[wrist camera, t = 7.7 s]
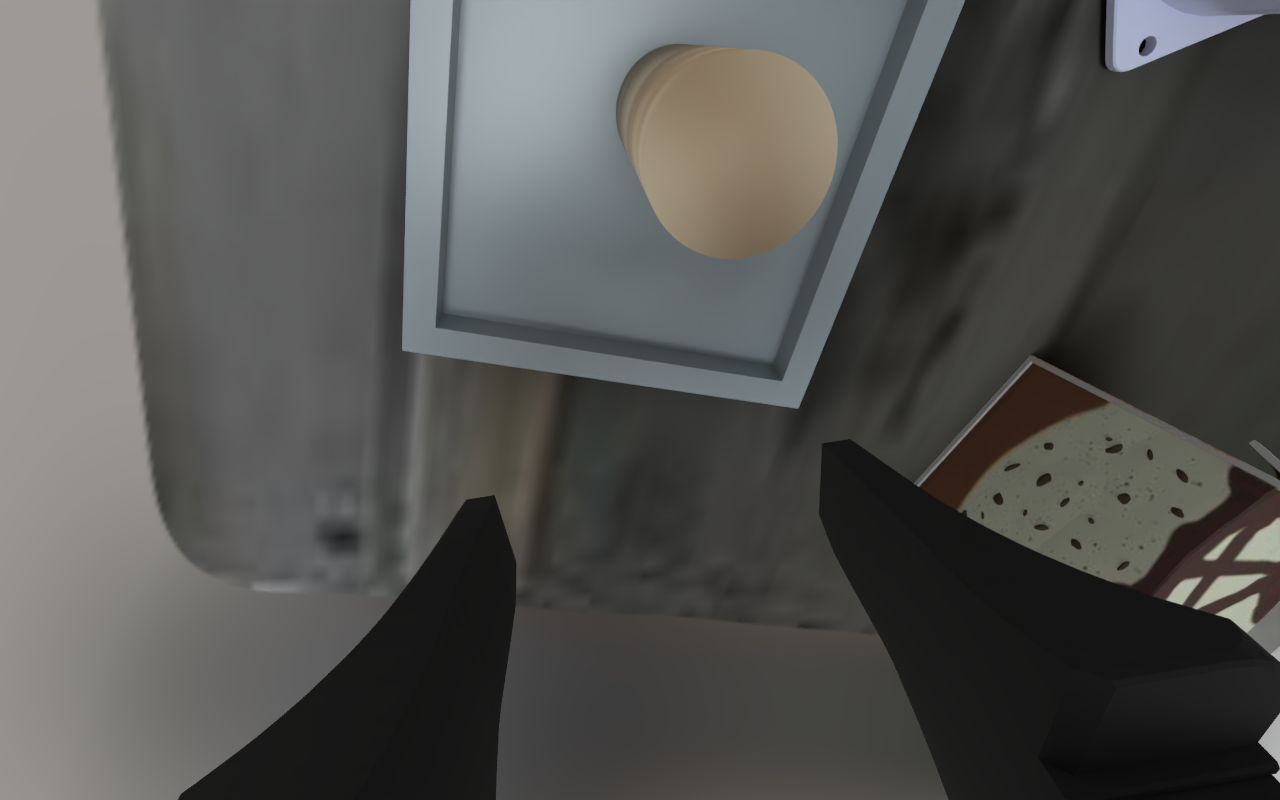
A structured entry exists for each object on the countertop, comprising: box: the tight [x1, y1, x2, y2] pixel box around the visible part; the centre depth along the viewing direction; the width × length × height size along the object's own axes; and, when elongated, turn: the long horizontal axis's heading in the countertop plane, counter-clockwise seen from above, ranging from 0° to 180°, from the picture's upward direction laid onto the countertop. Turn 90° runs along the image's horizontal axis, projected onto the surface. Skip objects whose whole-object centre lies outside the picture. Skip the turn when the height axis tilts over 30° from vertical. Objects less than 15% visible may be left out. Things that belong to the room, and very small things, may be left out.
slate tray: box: [402, 0, 965, 409], centre depth 18 cm, size 14×14×2 cm
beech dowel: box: [616, 44, 838, 259], centre depth 14 cm, size 4×4×8 cm
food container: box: [914, 355, 1280, 655], centre depth 23 cm, size 12×6×10 cm, turn 152°
